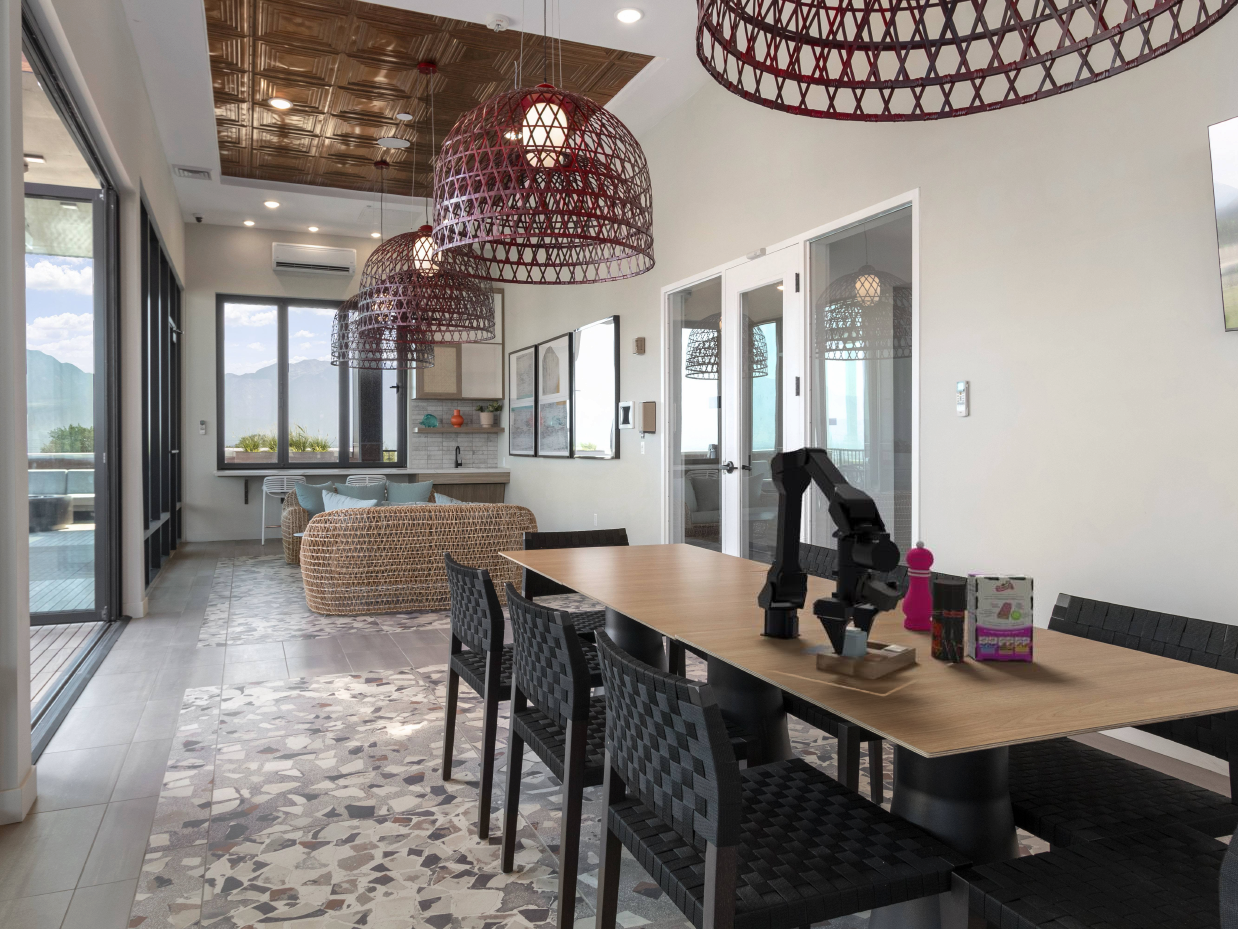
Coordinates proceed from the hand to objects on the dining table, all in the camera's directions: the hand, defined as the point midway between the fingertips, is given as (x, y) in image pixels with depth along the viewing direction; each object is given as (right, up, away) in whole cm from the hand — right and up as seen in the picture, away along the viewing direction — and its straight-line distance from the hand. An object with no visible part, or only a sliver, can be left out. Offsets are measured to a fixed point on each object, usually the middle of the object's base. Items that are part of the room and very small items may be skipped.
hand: (850, 650), depth 152 cm
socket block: (+4, -4, +3) cm, 6 cm away
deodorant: (+21, -4, +10) cm, 24 cm away
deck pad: (-1, -3, +12) cm, 13 cm away
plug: (0, -4, 0) cm, 4 cm away
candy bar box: (+32, -4, +11) cm, 34 cm away
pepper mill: (+26, -4, +39) cm, 47 cm away
